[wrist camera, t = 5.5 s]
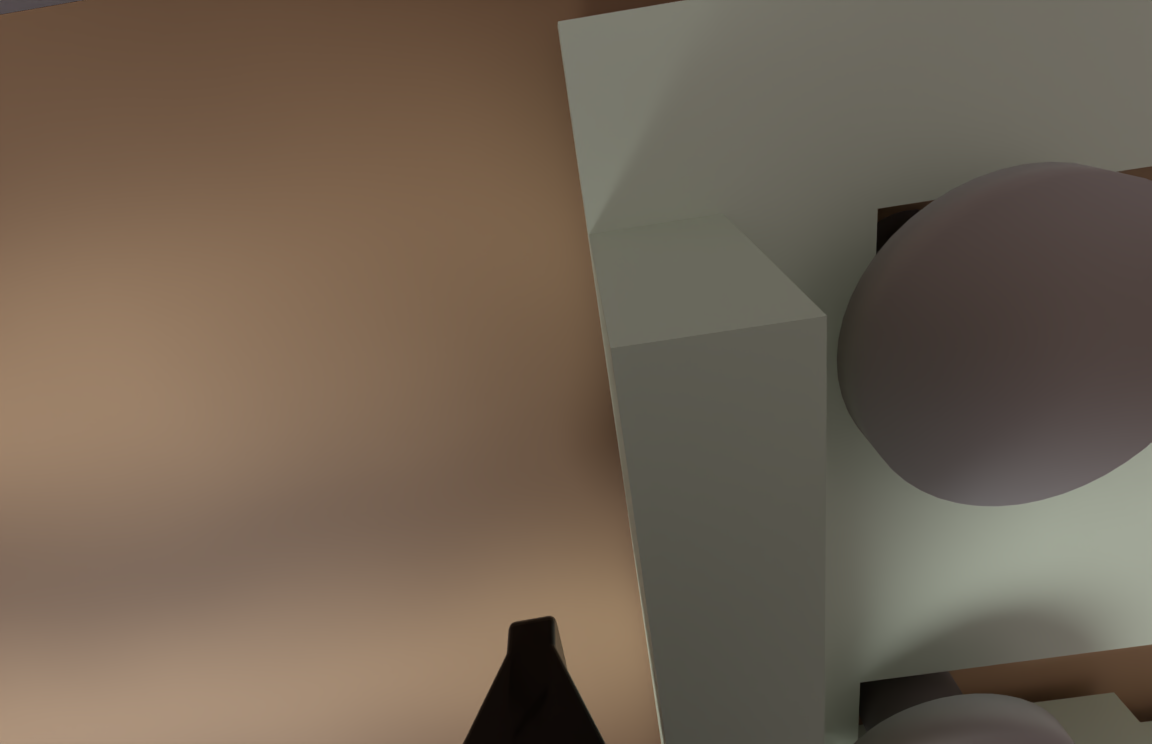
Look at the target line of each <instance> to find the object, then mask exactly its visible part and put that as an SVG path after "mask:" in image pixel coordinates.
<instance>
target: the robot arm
mask: <svg viewBox="0 0 1152 744" xmlns="http://www.w3.org/2000/svg"><path fill="white" fill-rule="evenodd" d="M463 744H606V743H605V742H604V740H603V738H602V736H601V734H600V732H599V730H598V728H597V726H596V724H595V722H594V720H593V718H592V716H591V714H590V713H589V711H588V709H587V707H586V705H585V703H584V701H583V699H582V697H581V695H580V693H579V691H578V689H577V687H576V685H575V683H574V682H573V680H572V678H571V676H570V674H569V672H568V670H567V665H566V660H565V656H564V651H563V647H562V643H561V638H560V634H559V630H558V626H557V622H556V619H555V618H554V617H553V616H544V617H539V618H533V619H527V620H522V621H516V622H513V623H511V624H510V627H509V630H508V642H507V654H506V656H505V658H504V660H503V662H502V664H501V666H500V669H499V671H498V673H497V675H496V677H495V679H494V681H493V683H492V685H491V687H490V689H489V691H488V693H487V695H486V697H485V699H484V701H483V703H482V705H481V707H480V709H479V711H478V713H477V716H476V718H475V720H474V722H473V724H472V726H471V728H470V730H469V732H468V734H467V736H466V738H465V740H464V742H463Z"/></svg>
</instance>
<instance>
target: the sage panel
mask: <svg viewBox="0 0 1152 744" xmlns="http://www.w3.org/2000/svg"><path fill="white" fill-rule="evenodd" d="M557 26H558V33H559V39H560V46H561V53H562V60H563V67H564V74H565V81H566V88H567V95H568V102H569V109H570V116H571V122H572V129H573V136H574V143H575V150H576V157H577V164H578V171H579V178H580V185H581V192H582V199H583V205H584V212H585V219H586V226H587V233H588V240H589V247H590V254H591V261H592V268H593V275H594V282H595V288H596V295H597V302H598V309H599V316H600V323H601V330H602V337H603V344H604V351H605V358H606V365H607V371H608V378H609V385H610V392H611V399H612V406H613V413H614V420H615V427H616V434H617V441H618V448H619V454H620V461H621V468H622V475H623V482H624V489H625V496H626V503H627V510H628V517H629V524H630V531H631V537H632V544H633V551H634V558H635V565H636V572H637V579H638V586H639V593H640V600H641V607H642V614H643V620H644V627H645V634H646V641H647V648H648V655H649V662H650V669H651V676H652V683H653V690H654V697H655V703H656V710H657V717H658V724H659V731H660V738H661V744H854V743H855V742H856V741H857V740H858V739H859V738H860V737H862V736H863V735H864V734H865V733H866V732H867V731H866V729H865V727H864V725H858V724H859V697H860V682H868V681H875V680H883V679H891V678H898V677H906V676H914V675H921V674H929V673H937V672H944V671H952V670H960V669H967V668H975V667H983V666H990V665H998V664H1006V663H1013V662H1021V661H1029V660H1036V659H1044V658H1052V657H1059V656H1067V655H1075V654H1082V653H1090V652H1098V651H1105V650H1113V649H1121V648H1128V647H1136V646H1144V645H1151V644H1152V443H1150V444H1149V445H1148V446H1147V447H1146V448H1145V449H1143V450H1142V451H1141V452H1139V453H1138V454H1137V455H1135V456H1134V457H1133V458H1131V459H1130V460H1128V461H1127V462H1126V463H1124V464H1122V465H1121V466H1119V467H1118V468H1116V469H1114V470H1113V471H1111V472H1109V473H1108V474H1106V475H1104V476H1102V477H1100V478H1098V479H1096V480H1094V481H1092V482H1090V483H1088V484H1086V485H1084V486H1082V487H1079V488H1077V489H1074V490H1072V491H1069V492H1067V493H1064V494H1061V495H1058V496H1054V497H1051V498H1047V499H1044V500H1040V501H1035V502H1030V503H1025V504H1019V505H1008V506H974V505H966V504H959V503H955V502H951V501H947V500H943V499H940V498H937V497H935V496H932V495H930V494H927V493H925V492H923V491H921V490H919V489H917V488H916V487H914V486H912V485H911V484H909V483H908V482H906V481H905V480H904V479H902V478H901V477H900V476H899V475H898V474H896V473H895V472H894V471H893V470H892V469H891V468H890V467H889V465H888V464H887V463H886V462H885V461H884V460H883V458H882V457H881V456H880V455H879V454H878V452H877V451H876V450H875V449H874V447H873V446H872V445H871V444H870V442H869V441H868V440H867V439H866V437H865V436H864V435H863V434H862V432H861V431H860V430H859V429H858V427H857V426H856V424H855V423H854V421H853V419H852V418H851V416H850V414H849V412H848V410H847V408H846V405H845V403H844V400H843V398H842V395H841V390H840V385H839V381H838V372H837V349H838V338H839V334H840V329H841V325H842V320H843V317H844V314H845V311H846V309H847V306H848V303H849V300H850V298H851V296H852V294H853V292H854V290H855V288H856V286H857V284H858V282H859V280H860V278H861V276H862V275H863V273H864V272H865V270H866V269H867V267H868V266H869V264H870V263H871V261H872V260H873V258H874V257H875V255H876V241H877V214H878V209H879V208H885V207H892V206H898V205H905V204H911V203H918V202H924V201H931V200H936V199H937V198H939V197H941V196H942V195H944V194H945V193H947V192H949V191H950V190H952V189H954V188H956V187H958V186H960V185H962V184H964V183H966V182H968V181H970V180H973V179H975V178H977V177H980V176H983V175H986V174H989V173H991V172H994V171H997V170H1000V169H1004V168H1009V167H1013V166H1018V165H1022V164H1030V163H1041V162H1066V163H1076V164H1081V165H1086V166H1092V167H1096V168H1101V169H1105V170H1110V171H1114V172H1118V171H1124V170H1131V169H1137V168H1143V167H1150V166H1152V0H683V1H677V2H671V3H665V4H659V5H653V6H647V7H641V8H635V9H629V10H623V11H617V12H611V13H605V14H600V15H594V16H588V17H582V18H576V19H570V20H564V21H558V25H557ZM1034 704H1036V705H1038V706H1040V707H1042V708H1044V709H1045V710H1046V711H1048V712H1049V713H1050V714H1052V715H1053V716H1054V717H1055V718H1056V720H1057V721H1058V722H1059V723H1060V724H1061V725H1062V727H1063V728H1064V729H1065V731H1066V732H1067V733H1068V735H1069V736H1070V737H1071V739H1072V740H1073V741H1074V743H1075V744H1152V721H1147V722H1139V720H1138V719H1137V718H1136V717H1135V716H1134V715H1133V714H1132V712H1131V711H1130V710H1129V709H1128V708H1127V707H1126V705H1125V704H1124V703H1123V702H1122V701H1121V700H1120V699H1119V697H1118V696H1117V695H1116V694H1115V693H1114V692H1113V693H1105V694H1097V695H1089V696H1081V697H1074V698H1066V699H1058V700H1050V701H1042V702H1035V703H1034Z"/></svg>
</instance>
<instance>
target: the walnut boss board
mask: <svg viewBox="0 0 1152 744" xmlns="http://www.w3.org/2000/svg"><path fill="white" fill-rule="evenodd" d="M677 1H683V0H82V1H76V2H70V3H65V4H59V5H53V6H47V7H41V8H36V9H30V10H24V11H18V12H13V13H7V14H1V15H0V744H463V742H464V740H465V738H466V736H467V734H468V732H469V730H470V728H471V726H472V724H473V722H474V720H475V718H476V716H477V713H478V711H479V709H480V707H481V705H482V703H483V701H484V699H485V697H486V695H487V693H488V691H489V689H490V687H491V685H492V683H493V681H494V679H495V677H496V675H497V673H498V671H499V669H500V666H501V664H502V662H503V660H504V658H505V656H506V654H507V642H508V630H509V627H510V624H511V623H513V622H516V621H522V620H527V619H533V618H539V617H544V616H553V617H554V618H555V619H556V622H557V626H558V630H559V634H560V638H561V643H562V647H563V651H564V656H565V660H566V665H567V670H568V672H569V674H570V676H571V678H572V680H573V682H574V683H575V685H576V687H577V689H578V691H579V693H580V695H581V697H582V699H583V701H584V703H585V705H586V707H587V709H588V711H589V713H590V714H591V716H592V718H593V720H594V722H595V724H596V726H597V728H598V730H599V732H600V734H601V736H602V738H603V740H604V742H605V743H606V744H661V738H660V731H659V724H658V717H657V710H656V703H655V697H654V690H653V683H652V676H651V669H650V662H649V655H648V648H647V641H646V634H645V627H644V620H643V614H642V607H641V600H640V593H639V586H638V579H637V572H636V565H635V558H634V551H633V544H632V537H631V531H630V524H629V517H628V510H627V503H626V496H625V489H624V482H623V475H622V468H621V461H620V454H619V448H618V441H617V434H616V427H615V420H614V413H613V406H612V399H611V392H610V385H609V378H608V371H607V365H606V358H605V351H604V344H603V337H602V330H601V323H600V316H599V309H598V302H597V295H596V288H595V282H594V275H593V268H592V261H591V254H590V247H589V240H588V233H587V226H586V219H585V212H584V205H583V199H582V192H581V185H580V178H579V171H578V164H577V157H576V150H575V143H574V136H573V129H572V122H571V116H570V109H569V102H568V95H567V88H566V81H565V74H564V67H563V60H562V53H561V46H560V39H559V33H558V26H557V25H558V21H564V20H570V19H576V18H582V17H588V16H594V15H600V14H605V13H611V12H617V11H623V10H629V9H635V8H641V7H647V6H653V5H659V4H665V3H671V2H677ZM837 372H838V381H839V385H840V390H841V395H842V398H843V400H844V403H845V405H846V408H847V410H848V412H849V414H850V416H851V418H852V419H853V421H854V423H855V424H856V426H857V427H858V429H859V430H860V431H861V432H862V434H863V435H864V436H865V437H866V439H867V440H868V441H869V442H870V444H871V445H872V446H873V447H874V449H875V450H876V451H877V452H878V454H879V455H880V456H881V457H882V458H883V460H884V461H885V462H886V463H887V464H888V465H889V467H890V468H891V469H892V470H893V471H894V472H895V473H896V474H898V475H899V476H900V477H901V478H902V479H904V480H905V481H906V482H908V483H909V484H911V485H912V486H914V487H916V488H917V489H919V490H921V491H923V492H925V493H927V494H930V495H932V496H935V497H937V498H940V499H943V500H947V501H951V502H955V503H959V504H966V505H974V506H1008V505H1019V504H1025V503H1030V502H1035V501H1040V500H1044V499H1047V498H1051V497H1054V496H1058V495H1061V494H1064V493H1067V492H1069V491H1072V490H1074V489H1077V488H1079V487H1082V486H1084V485H1086V484H1088V483H1090V482H1092V481H1094V480H1096V479H1098V478H1100V477H1102V476H1104V475H1106V474H1108V473H1109V472H1111V471H1113V470H1114V469H1116V468H1118V467H1119V466H1121V465H1122V464H1124V463H1126V462H1127V461H1128V460H1130V459H1131V458H1133V457H1134V456H1135V455H1137V454H1138V453H1139V452H1141V451H1142V450H1143V449H1145V448H1146V447H1147V446H1148V445H1149V444H1150V443H1152V166H1150V167H1143V168H1137V169H1131V170H1124V171H1118V172H1114V171H1110V170H1105V169H1101V168H1096V167H1092V166H1086V165H1081V164H1076V163H1066V162H1041V163H1030V164H1022V165H1018V166H1013V167H1009V168H1004V169H1000V170H997V171H994V172H991V173H989V174H986V175H983V176H980V177H977V178H975V179H973V180H970V181H968V182H966V183H964V184H962V185H960V186H958V187H956V188H954V189H952V190H950V191H949V192H947V193H945V194H944V195H942V196H941V197H939V198H937V199H936V200H931V201H924V202H918V203H911V204H905V205H898V206H892V207H885V208H879V209H878V214H877V241H876V255H875V257H874V258H873V260H872V261H871V263H870V264H869V266H868V267H867V269H866V270H865V272H864V273H863V275H862V276H861V278H860V280H859V282H858V284H857V286H856V288H855V290H854V292H853V294H852V296H851V298H850V300H849V303H848V306H847V309H846V311H845V314H844V317H843V320H842V325H841V329H840V334H839V338H838V349H837ZM1113 692H1114V693H1115V694H1116V695H1117V696H1118V697H1119V699H1120V700H1121V701H1122V702H1123V703H1124V704H1125V705H1126V707H1127V708H1128V709H1129V710H1130V711H1131V712H1132V714H1133V715H1134V716H1135V717H1136V718H1137V719H1138V720H1139V722H1147V721H1152V644H1151V645H1144V646H1136V647H1128V648H1121V649H1113V650H1105V651H1098V652H1090V653H1082V654H1075V655H1067V656H1059V657H1052V658H1044V659H1036V660H1029V661H1021V662H1013V663H1006V664H998V665H990V666H983V667H975V668H967V669H960V670H952V671H944V672H937V673H929V674H921V675H914V676H906V677H898V678H891V679H883V680H875V681H868V682H860V697H859V724H858V725H864V727H865V729H866V731H867V732H866V733H865V734H864V735H863V736H862V737H860V738H859V739H858V740H857V741H856V742H855V743H854V744H1075V743H1074V741H1073V740H1072V739H1071V737H1070V736H1069V735H1068V733H1067V732H1066V731H1065V729H1064V728H1063V727H1062V725H1061V724H1060V723H1059V722H1058V721H1057V720H1056V718H1055V717H1054V716H1053V715H1052V714H1050V713H1049V712H1048V711H1046V710H1045V709H1044V708H1042V707H1040V706H1038V705H1036V704H1034V703H1035V702H1042V701H1050V700H1058V699H1066V698H1074V697H1081V696H1089V695H1097V694H1105V693H1113Z"/></svg>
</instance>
